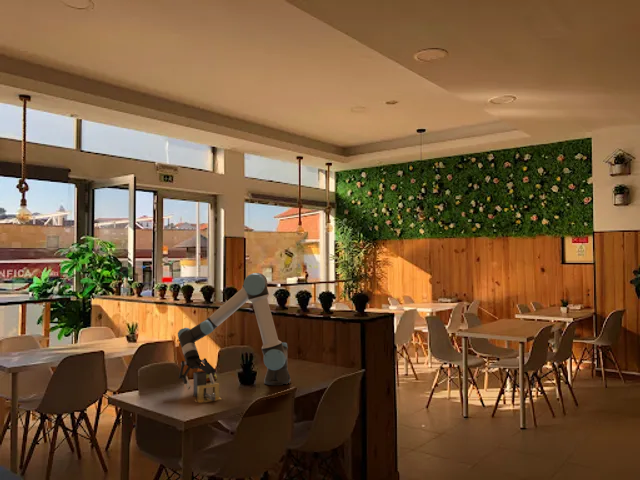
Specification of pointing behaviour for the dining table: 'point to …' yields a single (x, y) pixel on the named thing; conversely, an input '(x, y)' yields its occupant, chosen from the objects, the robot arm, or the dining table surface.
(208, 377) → the cheeseburger
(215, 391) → the eye bracket
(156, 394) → the dining table surface
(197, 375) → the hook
